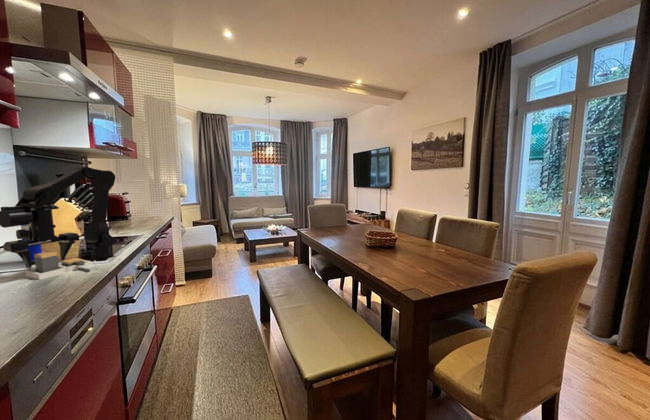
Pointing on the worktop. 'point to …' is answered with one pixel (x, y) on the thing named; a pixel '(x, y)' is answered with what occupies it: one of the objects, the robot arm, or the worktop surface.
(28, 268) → the tray
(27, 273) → the two-cubby shelf
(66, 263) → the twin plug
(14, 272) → the worktop surface
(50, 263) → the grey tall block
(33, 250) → the beverage can
